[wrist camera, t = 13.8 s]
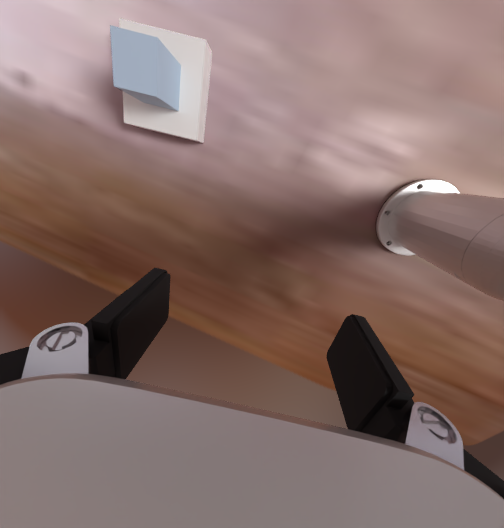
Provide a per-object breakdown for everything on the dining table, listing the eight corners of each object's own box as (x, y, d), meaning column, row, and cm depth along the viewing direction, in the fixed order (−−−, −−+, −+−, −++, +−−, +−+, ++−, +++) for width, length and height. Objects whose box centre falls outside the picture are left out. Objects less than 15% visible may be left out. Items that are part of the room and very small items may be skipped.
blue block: (181, 65, 26) (157, 37, 21) (178, 111, 28) (156, 96, 23) (143, 55, 26) (110, 25, 21) (143, 102, 28) (113, 86, 23)
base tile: (212, 52, 28) (205, 39, 25) (203, 143, 32) (197, 140, 30) (134, 33, 28) (119, 17, 25) (136, 126, 32) (123, 122, 29)
